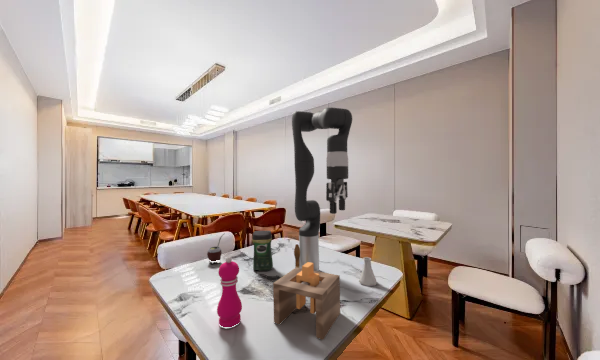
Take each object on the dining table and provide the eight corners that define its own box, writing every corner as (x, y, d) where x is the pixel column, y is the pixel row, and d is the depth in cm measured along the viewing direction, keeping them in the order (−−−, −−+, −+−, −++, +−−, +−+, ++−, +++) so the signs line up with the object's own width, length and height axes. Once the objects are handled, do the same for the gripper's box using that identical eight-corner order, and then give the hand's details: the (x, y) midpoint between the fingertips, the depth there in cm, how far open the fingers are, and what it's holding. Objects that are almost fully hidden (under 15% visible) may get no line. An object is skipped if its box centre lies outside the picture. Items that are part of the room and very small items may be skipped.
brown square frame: (273, 323, 69) (273, 283, 69) (296, 301, 81) (296, 267, 81) (323, 339, 61) (322, 294, 61) (340, 312, 73) (339, 275, 73)
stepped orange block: (296, 308, 71) (296, 264, 71) (302, 302, 74) (302, 260, 74) (313, 313, 68) (313, 268, 68) (319, 307, 71) (319, 264, 71)
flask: (378, 287, 90) (377, 262, 90) (359, 285, 92) (358, 261, 92) (376, 279, 97) (375, 256, 97) (358, 278, 99) (358, 255, 99)
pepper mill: (220, 316, 73) (219, 253, 73) (244, 315, 73) (242, 252, 73) (214, 331, 65) (212, 261, 65) (240, 329, 66) (238, 260, 66)
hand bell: (285, 280, 98) (284, 243, 98) (302, 277, 101) (302, 241, 101) (292, 289, 90) (291, 248, 90) (311, 284, 94) (310, 245, 94)
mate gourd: (204, 265, 119) (204, 236, 119) (213, 259, 126) (212, 232, 126) (218, 265, 117) (217, 236, 117) (225, 260, 125) (225, 232, 125)
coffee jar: (273, 265, 116) (272, 228, 116) (272, 271, 108) (271, 232, 108) (254, 265, 116) (253, 229, 116) (251, 272, 108) (250, 232, 108)
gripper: (334, 166, 88) (335, 208, 88) (318, 165, 76) (319, 213, 76) (354, 166, 84) (354, 209, 84) (340, 164, 72) (340, 215, 72)
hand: (337, 211), depth 80 cm, fingers open, 8 cm apart
